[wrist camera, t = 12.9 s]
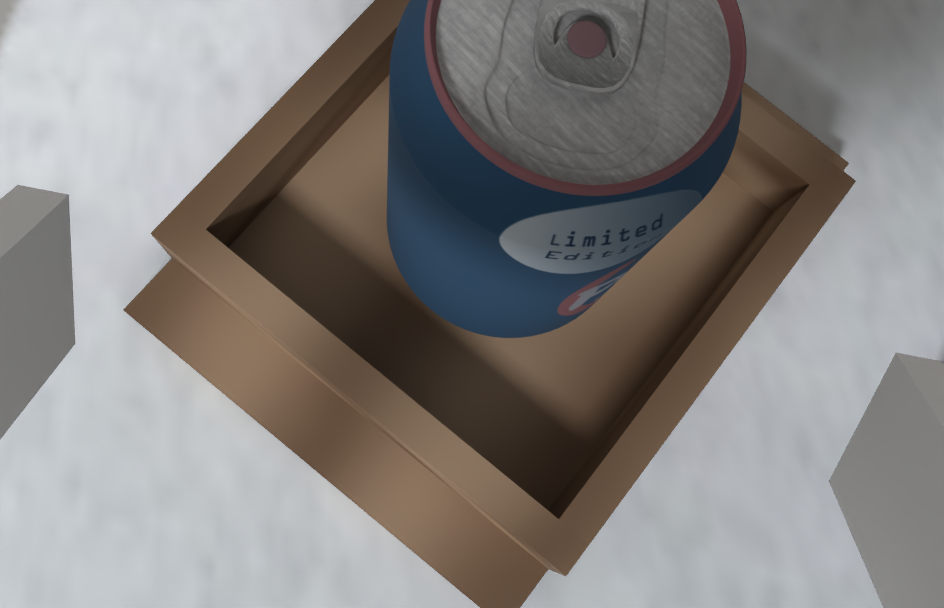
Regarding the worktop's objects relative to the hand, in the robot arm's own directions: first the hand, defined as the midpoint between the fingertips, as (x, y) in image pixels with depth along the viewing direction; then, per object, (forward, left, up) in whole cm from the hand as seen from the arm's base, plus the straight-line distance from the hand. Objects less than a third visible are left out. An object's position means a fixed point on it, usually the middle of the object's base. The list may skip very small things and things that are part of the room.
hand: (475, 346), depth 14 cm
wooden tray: (+2, -6, -13) cm, 14 cm away
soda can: (+2, -6, -12) cm, 13 cm away
